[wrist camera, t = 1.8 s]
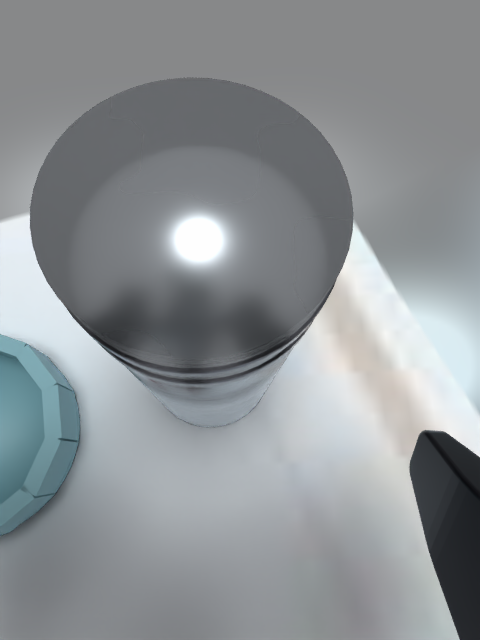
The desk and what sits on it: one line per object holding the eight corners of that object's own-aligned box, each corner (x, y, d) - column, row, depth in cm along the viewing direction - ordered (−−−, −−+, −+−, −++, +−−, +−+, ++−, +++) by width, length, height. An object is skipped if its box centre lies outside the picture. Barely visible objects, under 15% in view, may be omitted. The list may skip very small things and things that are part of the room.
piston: (294, 373, 19) (422, 218, 7) (204, 455, 18) (169, 439, 6) (217, 290, 21) (212, 31, 8) (127, 362, 19) (-39, 184, 7)
